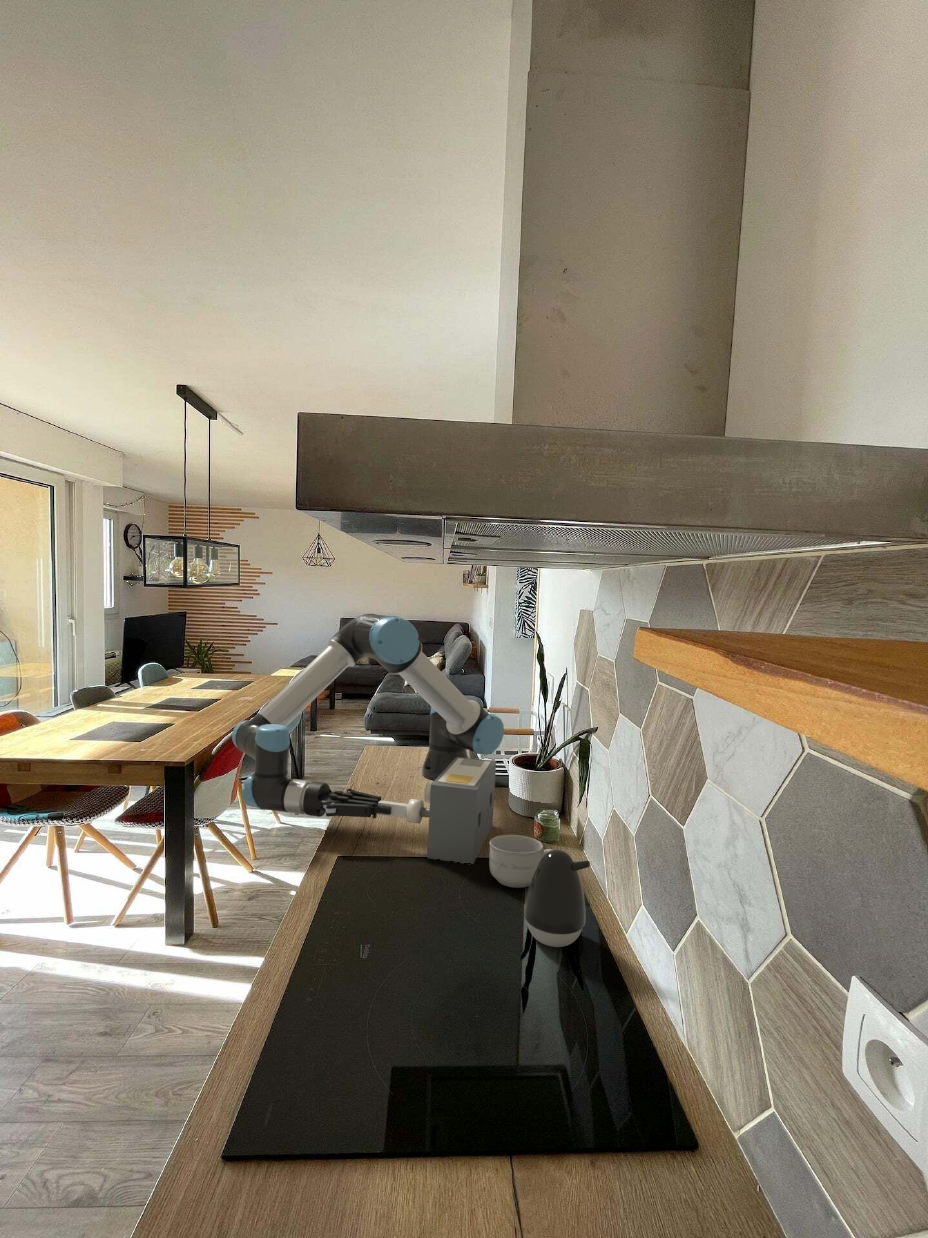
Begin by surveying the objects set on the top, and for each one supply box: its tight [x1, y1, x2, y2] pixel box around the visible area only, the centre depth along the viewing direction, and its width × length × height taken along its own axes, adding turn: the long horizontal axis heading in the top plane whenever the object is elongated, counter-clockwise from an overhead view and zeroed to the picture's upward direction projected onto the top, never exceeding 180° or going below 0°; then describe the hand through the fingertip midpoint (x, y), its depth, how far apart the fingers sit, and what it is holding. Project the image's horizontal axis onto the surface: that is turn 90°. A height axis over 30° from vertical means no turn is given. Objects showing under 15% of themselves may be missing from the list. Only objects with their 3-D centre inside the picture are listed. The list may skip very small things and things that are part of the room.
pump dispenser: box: [524, 848, 591, 948], centre depth 110 cm, size 10×10×15 cm
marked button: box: [406, 798, 430, 824], centre depth 144 cm, size 5×8×5 cm, turn 77°
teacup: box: [488, 834, 553, 889], centre depth 130 cm, size 14×11×8 cm
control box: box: [426, 757, 497, 865], centre depth 150 cm, size 24×10×16 cm, turn 167°
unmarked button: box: [423, 780, 434, 804], centre depth 158 cm, size 5×8×5 cm, turn 77°
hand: (406, 811), depth 145 cm, fingers closed
